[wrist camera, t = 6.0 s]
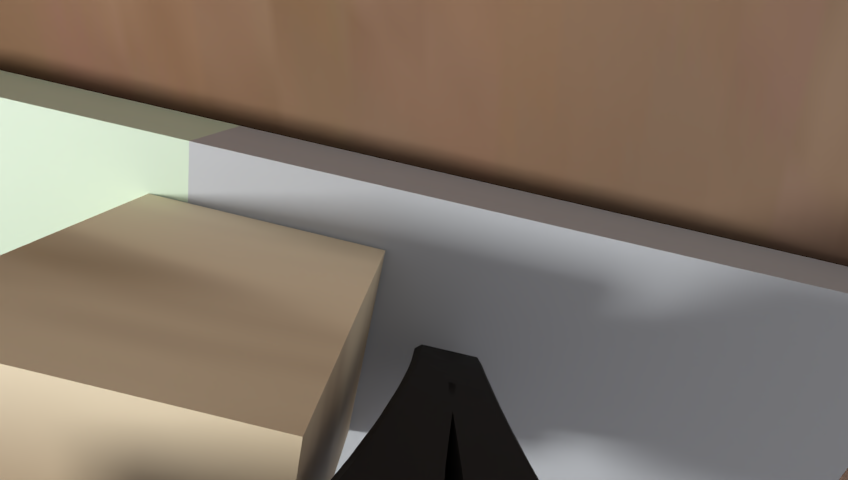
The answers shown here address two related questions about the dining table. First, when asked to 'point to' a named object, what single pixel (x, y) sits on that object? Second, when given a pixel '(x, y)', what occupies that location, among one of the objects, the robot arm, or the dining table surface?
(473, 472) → the robot arm
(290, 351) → the maple block
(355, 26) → the dining table surface
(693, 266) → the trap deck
